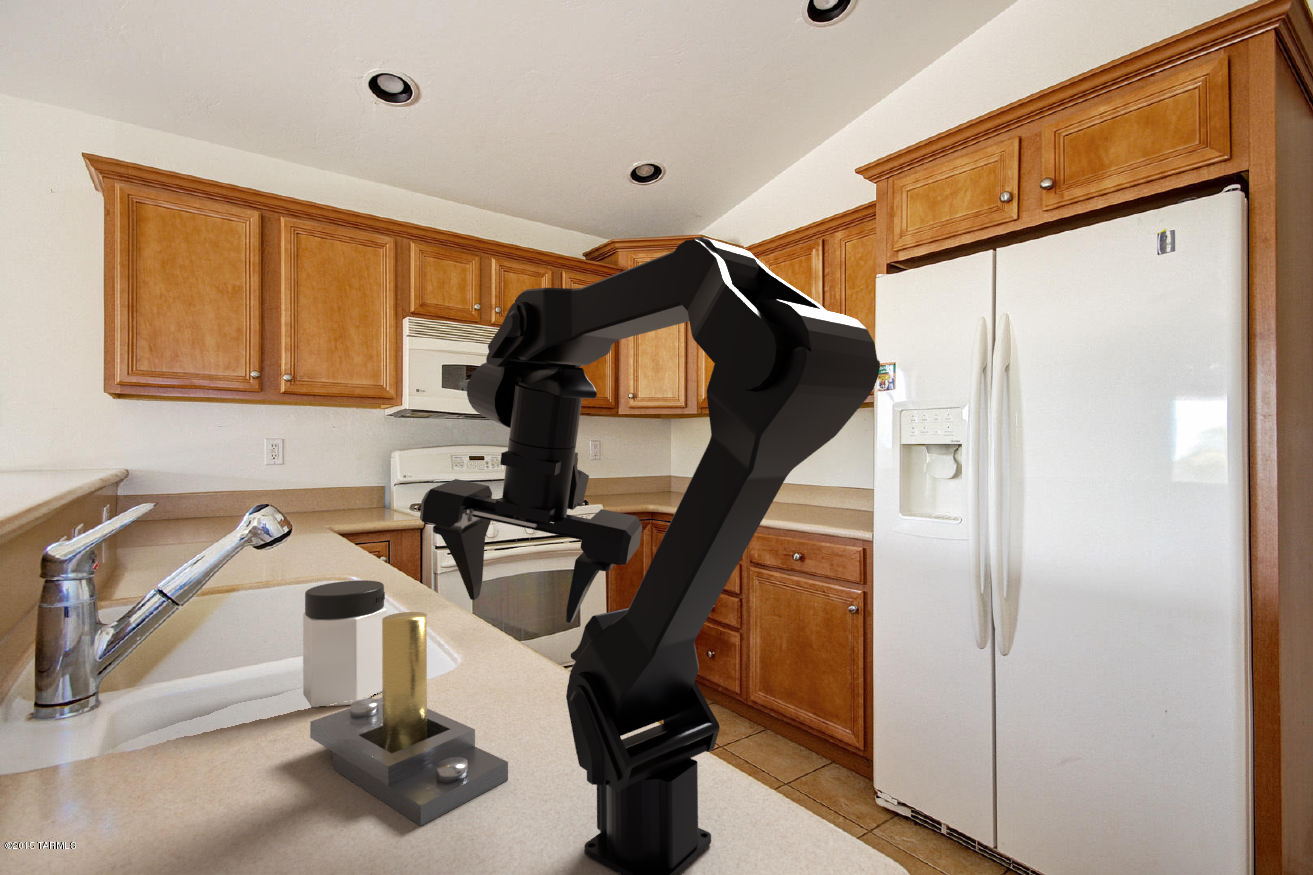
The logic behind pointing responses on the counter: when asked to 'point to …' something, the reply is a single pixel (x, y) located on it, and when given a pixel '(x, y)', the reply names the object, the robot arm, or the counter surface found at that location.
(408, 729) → the pin
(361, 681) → the jar
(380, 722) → the grey clamp plate
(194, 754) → the counter surface
